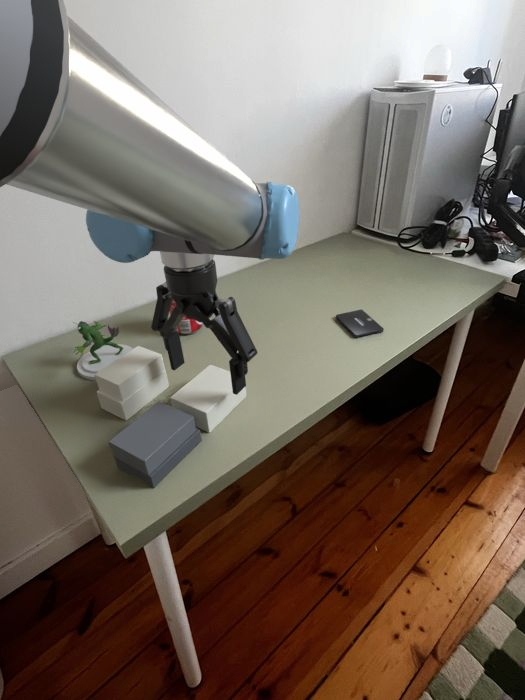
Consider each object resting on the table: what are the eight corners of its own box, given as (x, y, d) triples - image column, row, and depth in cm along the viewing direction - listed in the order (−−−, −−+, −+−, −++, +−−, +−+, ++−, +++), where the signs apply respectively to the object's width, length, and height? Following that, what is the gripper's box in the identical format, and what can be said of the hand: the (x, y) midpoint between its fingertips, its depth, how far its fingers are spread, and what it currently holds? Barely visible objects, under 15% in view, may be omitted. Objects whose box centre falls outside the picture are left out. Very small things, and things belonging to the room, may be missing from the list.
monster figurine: (91, 347, 97) (78, 306, 91) (143, 346, 96) (133, 305, 90) (68, 380, 87) (51, 337, 81) (126, 380, 86) (113, 336, 80)
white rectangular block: (209, 433, 72) (206, 413, 70) (174, 417, 76) (169, 397, 74) (246, 396, 80) (245, 376, 77) (212, 383, 84) (210, 364, 81)
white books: (126, 420, 76) (116, 387, 72) (101, 408, 79) (90, 375, 75) (169, 386, 83) (162, 354, 79) (145, 376, 87) (137, 345, 82)
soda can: (198, 318, 105) (191, 272, 99) (207, 331, 100) (200, 284, 93) (170, 326, 103) (160, 279, 96) (178, 339, 98) (169, 291, 91)
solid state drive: (361, 311, 104) (361, 309, 103) (384, 331, 96) (384, 329, 95) (335, 317, 102) (335, 314, 102) (355, 338, 94) (356, 335, 94)
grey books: (154, 488, 63) (146, 462, 60) (117, 466, 67) (108, 441, 64) (201, 440, 71) (197, 415, 68) (166, 423, 75) (160, 399, 72)
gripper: (275, 267, 59) (280, 387, 71) (146, 240, 71) (169, 347, 83) (244, 289, 54) (255, 414, 66) (110, 256, 66) (140, 367, 78)
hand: (207, 377), depth 75 cm, fingers open, 13 cm apart
